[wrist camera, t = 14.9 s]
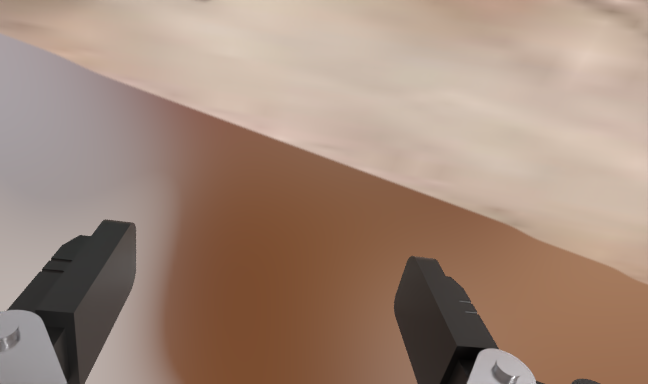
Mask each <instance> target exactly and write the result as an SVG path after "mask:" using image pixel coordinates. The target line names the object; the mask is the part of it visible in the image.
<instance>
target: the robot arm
mask: <svg viewBox="0 0 648 384" xmlns="http://www.w3.org/2000/svg"><path fill="white" fill-rule="evenodd" d="M135 273H136V227H135V224H134V223H130V222H122V221H113V220H103V221H102V223H101V224H100V225H99V227H98V228H97V229H96V230H95V232H94V233H93V235H92V236H82V235H80V236H78V237H76V238H74V239H73V240H71V241H69V242H67V243H66V244H64V245H62V246H61V247H60V248H59V250H58V251H57V252H56V253H55V254H54V256H53V257H52V258H51V261H49V262H48V263H47V264H46V265H45V266H44V267H43V269H42V272H39V273H38V274H37V276H36V277H35V278H34V279H33V280H32V281H31V283H30V284H29V285H28V286H27V287H26V289H25V290H24V291H23V292H22V293H21V295H20V296H19V297H18V298H17V299H16V300H15V301H14V303H13V304H12V305H11V306H10V307H9V309H8V310H7V311H2V312H0V384H85V381H86V379H87V378H88V376H89V373H90V372H91V369H92V368H93V365H94V364H95V362H96V359H97V357H98V355H99V353H100V352H101V350H102V347H103V345H104V343H105V341H106V339H107V337H108V335H109V333H110V331H111V329H112V327H113V325H114V323H115V321H116V319H117V317H118V315H119V313H120V311H121V309H122V307H123V305H124V303H125V301H126V299H127V297H128V295H129V293H130V291H131V289H132V286H133V282H134V279H135ZM394 312H395V317H396V320H397V323H398V326H399V329H400V332H401V335H402V338H403V341H404V344H405V347H406V350H407V353H408V356H409V359H410V362H411V364H412V367H413V371H414V374H415V377H416V380H417V383H418V384H543V383H541V382H538V381H536V380H535V378H534V376H533V374H532V372H531V371H530V370H529V368H528V367H527V366H526V365H525V364H524V363H523V362H521V361H520V360H519V359H518V358H516V357H515V356H513V355H511V354H509V353H507V352H505V351H502V350H499V348H498V347H497V345H496V343H495V341H494V340H493V338H492V336H491V335H490V333H489V332H488V330H487V328H486V326H485V324H484V323H483V321H482V319H481V318H480V316H479V315H477V311H476V309H475V307H474V306H473V304H471V301H470V299H469V297H468V296H467V294H466V292H465V291H464V289H463V288H462V287H461V286H460V285H459V284H458V283H457V282H456V281H454V279H452V278H451V277H447V276H445V274H444V272H443V270H442V269H441V267H440V265H439V263H438V261H437V260H436V259H432V258H423V257H414V256H411V257H410V258H409V259H408V261H407V263H406V266H405V270H404V272H403V275H402V278H401V281H400V284H399V287H398V290H397V293H396V296H395V301H394ZM572 384H600V383H597V382H595V381H592V380H588V379H577V380H575V381H574V382H572Z"/></svg>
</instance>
